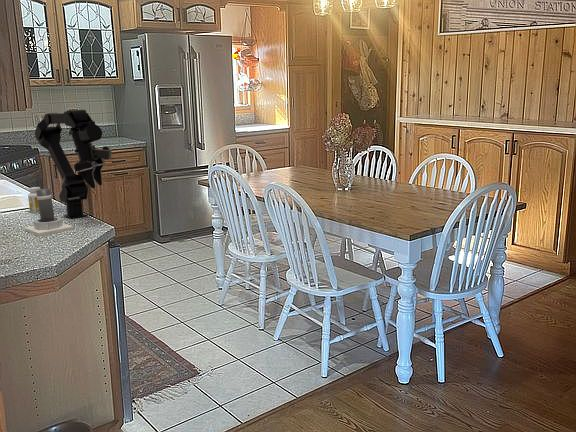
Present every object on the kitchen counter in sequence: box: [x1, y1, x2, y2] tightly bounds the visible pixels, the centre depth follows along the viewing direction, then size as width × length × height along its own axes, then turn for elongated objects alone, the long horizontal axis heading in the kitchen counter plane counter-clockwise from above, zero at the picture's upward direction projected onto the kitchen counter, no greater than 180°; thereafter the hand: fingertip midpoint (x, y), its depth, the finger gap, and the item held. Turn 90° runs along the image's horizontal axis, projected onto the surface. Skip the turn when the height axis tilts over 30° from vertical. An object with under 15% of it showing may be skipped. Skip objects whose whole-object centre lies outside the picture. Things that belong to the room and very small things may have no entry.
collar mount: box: [23, 216, 74, 237], centre depth 203 cm, size 12×12×4 cm
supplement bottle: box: [27, 186, 41, 214], centre depth 232 cm, size 5×5×10 cm
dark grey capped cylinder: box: [36, 188, 55, 222], centre depth 201 cm, size 5×5×13 cm
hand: (97, 186), depth 213 cm, fingers open, 9 cm apart
